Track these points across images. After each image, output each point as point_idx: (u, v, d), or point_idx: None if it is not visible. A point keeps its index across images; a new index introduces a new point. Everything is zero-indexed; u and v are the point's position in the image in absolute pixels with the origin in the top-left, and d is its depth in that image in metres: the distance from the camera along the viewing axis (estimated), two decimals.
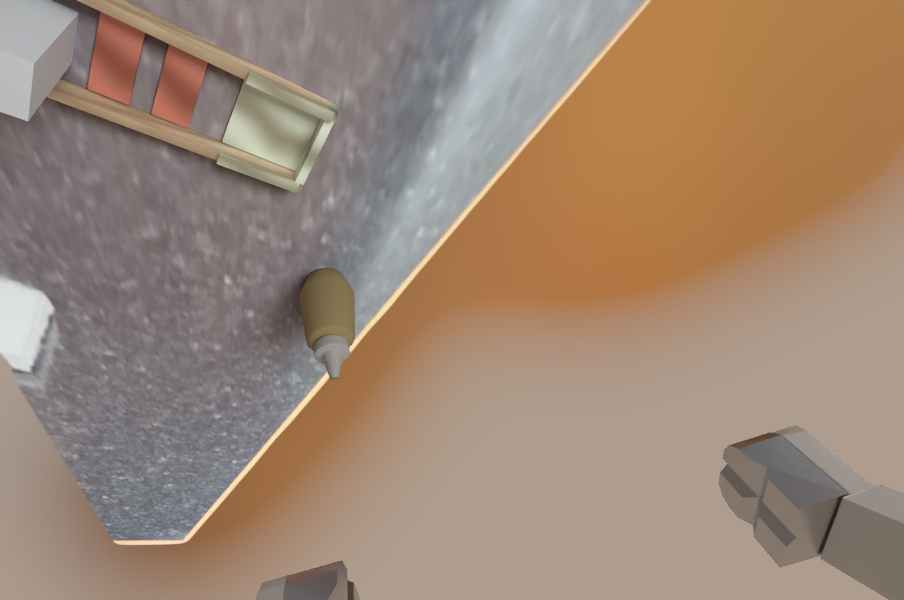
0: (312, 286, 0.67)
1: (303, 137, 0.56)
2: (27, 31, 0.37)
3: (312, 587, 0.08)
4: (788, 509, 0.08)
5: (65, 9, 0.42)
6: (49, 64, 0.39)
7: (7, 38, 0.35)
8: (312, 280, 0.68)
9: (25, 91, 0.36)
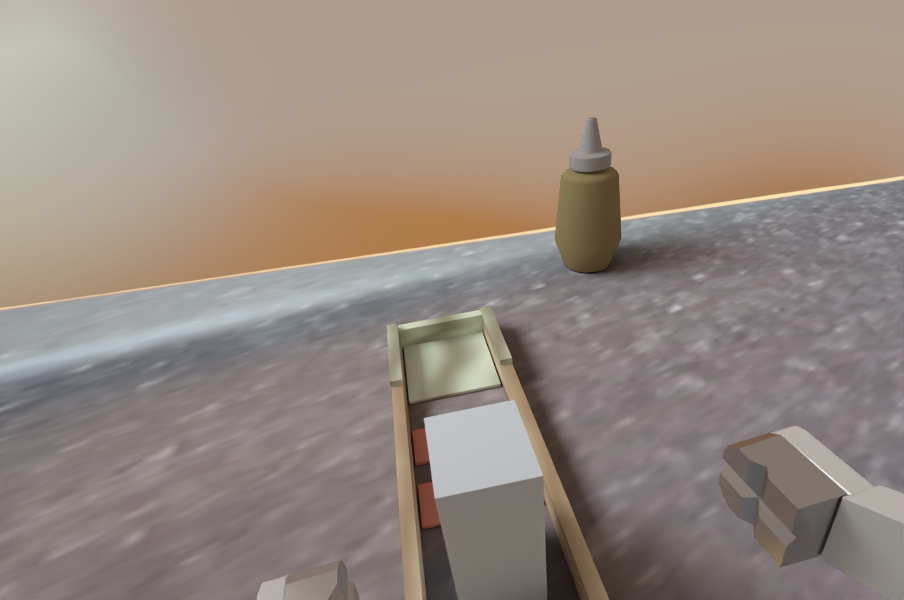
0: (580, 245, 0.56)
1: (441, 344, 0.50)
2: None
3: (312, 587, 0.08)
4: (788, 509, 0.08)
5: None
6: None
7: None
8: (580, 255, 0.57)
9: (470, 413, 0.25)
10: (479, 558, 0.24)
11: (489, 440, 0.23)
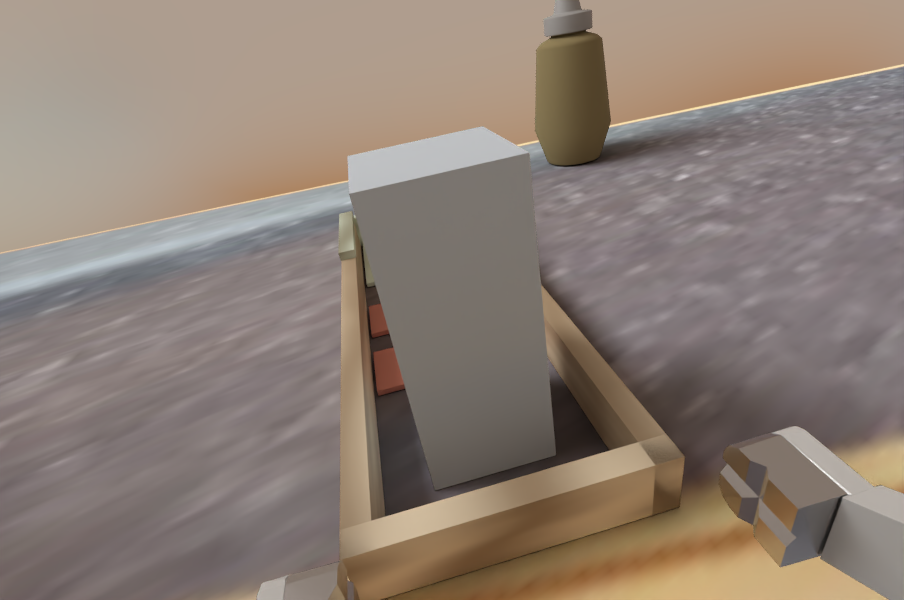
0: (564, 127, 0.49)
1: None
2: None
3: (312, 587, 0.08)
4: (788, 509, 0.08)
5: None
6: None
7: None
8: (565, 140, 0.49)
9: (417, 142, 0.17)
10: (442, 345, 0.15)
11: (443, 150, 0.15)
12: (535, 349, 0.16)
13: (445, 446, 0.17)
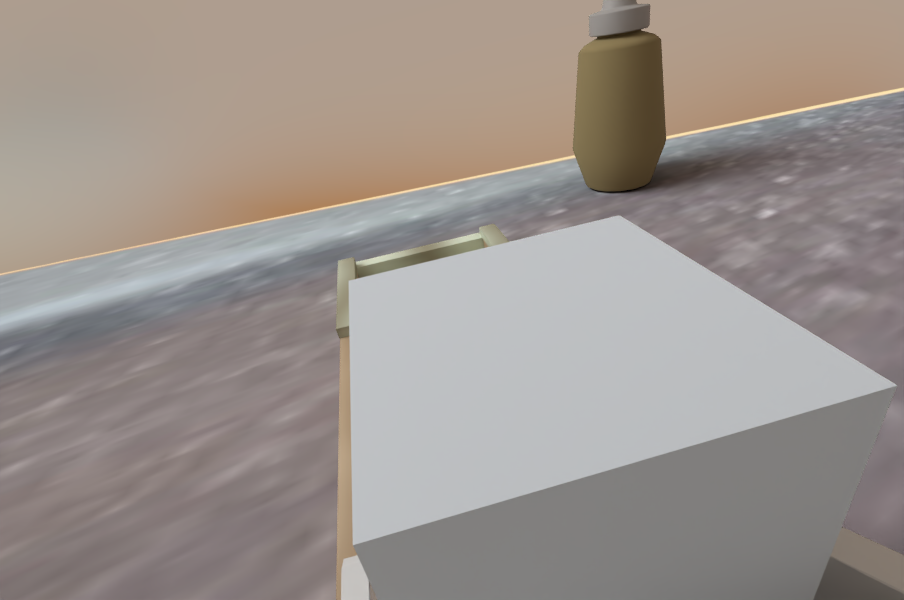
0: (612, 147, 0.40)
1: None
2: None
3: None
4: None
5: None
6: None
7: None
8: (613, 162, 0.41)
9: (492, 254, 0.08)
10: None
11: (575, 302, 0.06)
12: None
13: None
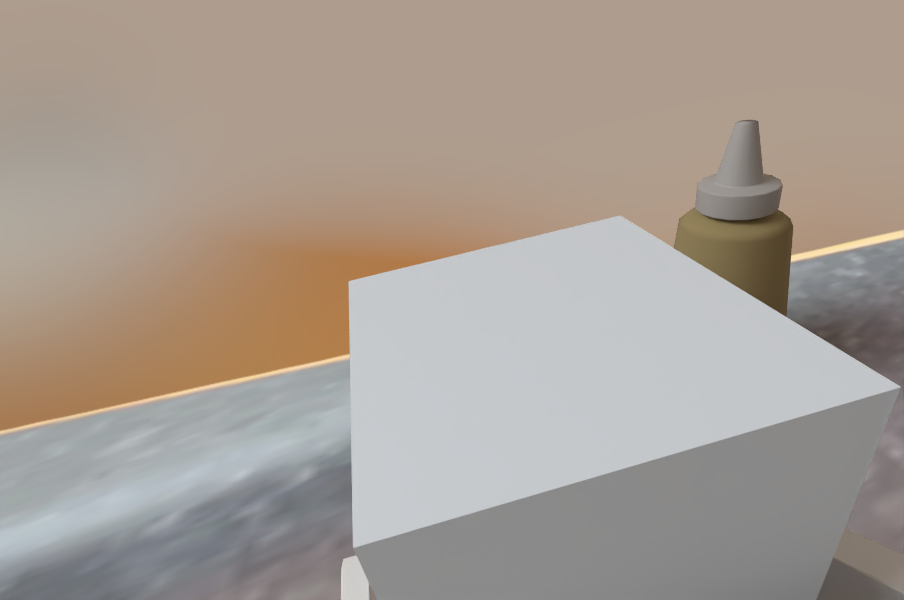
0: None
1: None
2: None
3: None
4: None
5: None
6: None
7: None
8: None
9: (492, 254, 0.08)
10: None
11: (576, 302, 0.06)
12: None
13: None
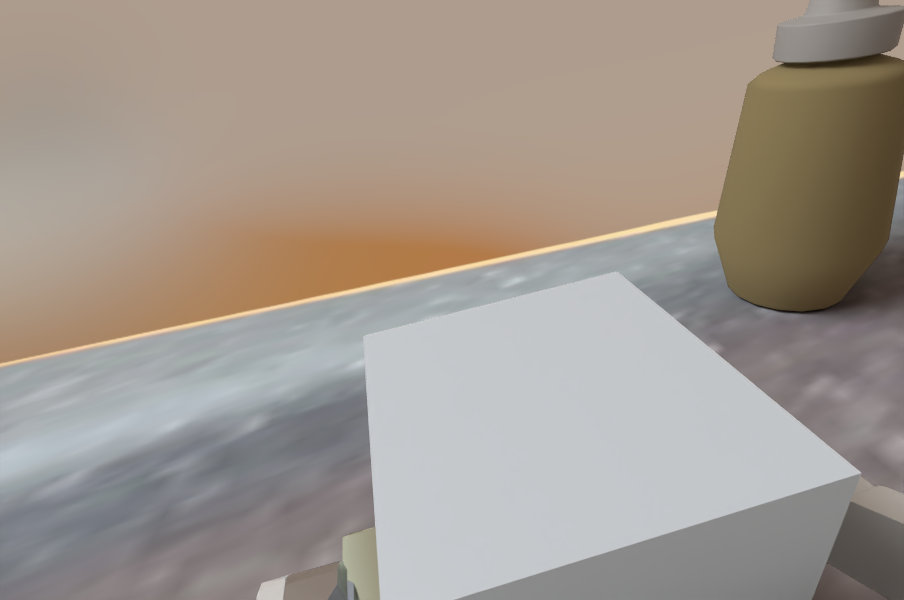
0: (809, 250, 0.23)
1: None
2: None
3: (312, 587, 0.08)
4: None
5: None
6: None
7: None
8: (804, 272, 0.24)
9: (497, 310, 0.09)
10: None
11: (575, 369, 0.07)
12: None
13: None
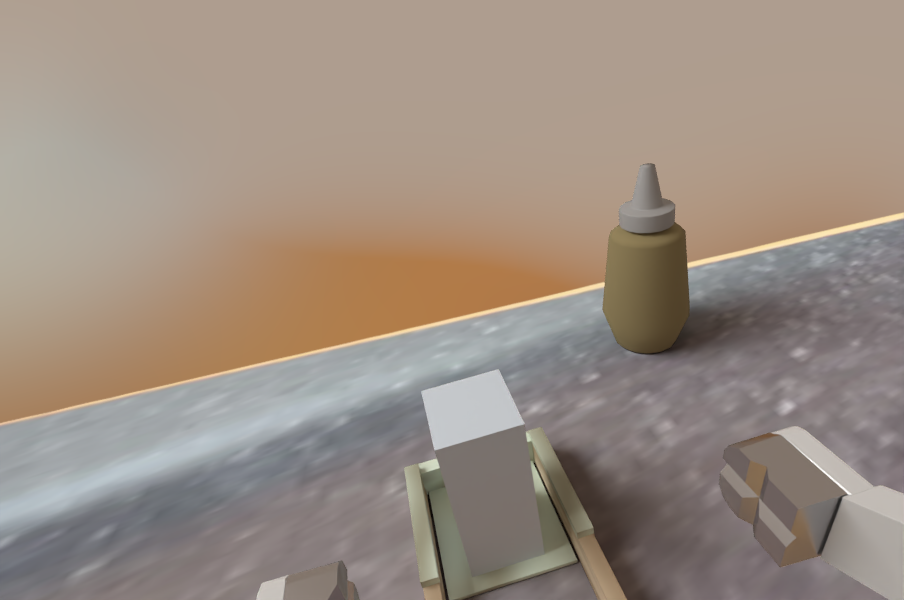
0: (641, 323, 0.44)
1: None
2: None
3: (312, 587, 0.08)
4: (788, 509, 0.08)
5: None
6: None
7: None
8: (642, 334, 0.44)
9: (461, 383, 0.29)
10: (478, 507, 0.28)
11: (478, 402, 0.27)
12: (530, 504, 0.29)
13: (479, 554, 0.30)
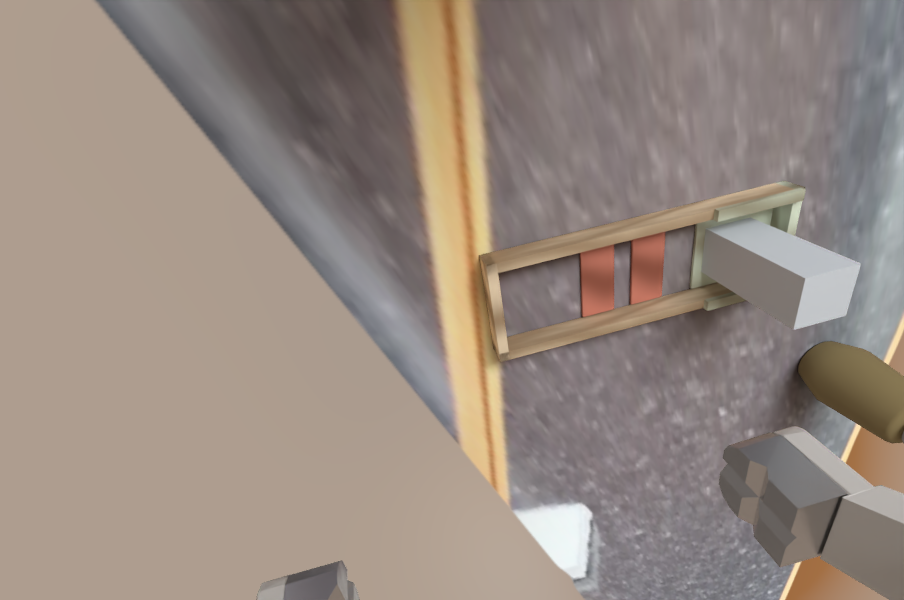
0: (829, 372, 0.56)
1: None
2: (798, 248, 0.42)
3: (312, 587, 0.08)
4: (788, 509, 0.08)
5: (747, 221, 0.48)
6: None
7: (814, 259, 0.40)
8: (819, 366, 0.57)
9: (849, 291, 0.39)
10: (751, 267, 0.43)
11: (825, 303, 0.39)
12: (738, 291, 0.46)
13: (719, 243, 0.47)
